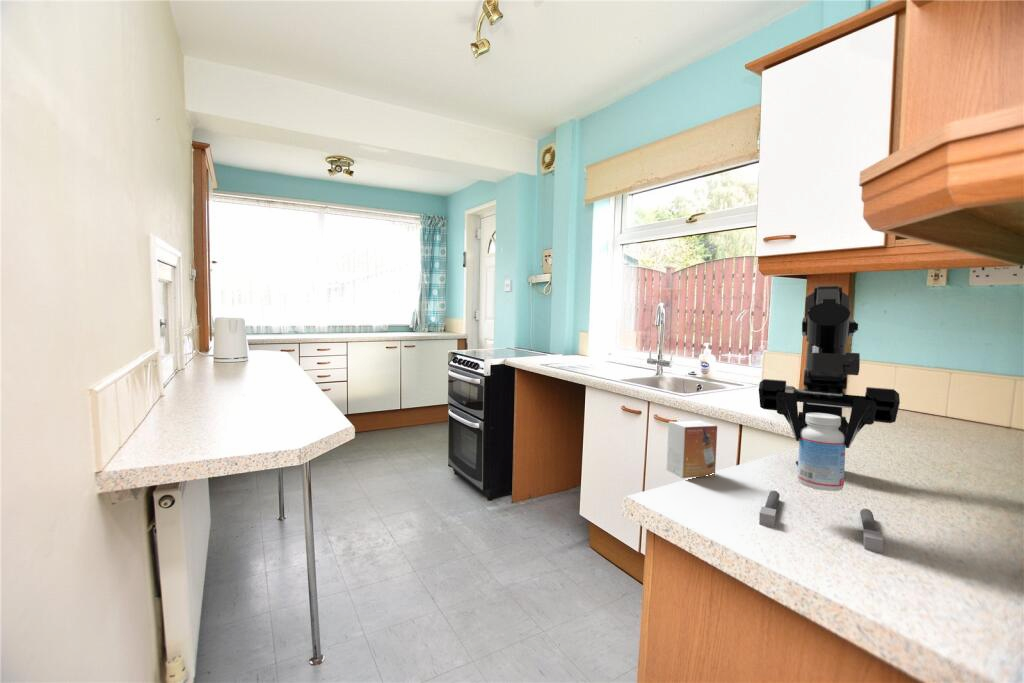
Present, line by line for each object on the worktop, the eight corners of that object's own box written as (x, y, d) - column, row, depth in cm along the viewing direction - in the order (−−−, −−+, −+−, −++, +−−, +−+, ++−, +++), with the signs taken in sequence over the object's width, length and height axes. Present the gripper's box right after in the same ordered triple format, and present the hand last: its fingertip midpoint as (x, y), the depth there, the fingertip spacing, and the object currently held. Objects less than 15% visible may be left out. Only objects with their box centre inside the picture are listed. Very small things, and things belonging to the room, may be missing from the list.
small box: (682, 479, 90) (684, 427, 90) (665, 470, 96) (667, 420, 95) (716, 476, 92) (718, 425, 92) (698, 467, 98) (699, 419, 97)
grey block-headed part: (858, 517, 74) (858, 506, 74) (874, 520, 73) (874, 509, 73) (864, 549, 63) (864, 536, 63) (882, 553, 62) (883, 540, 62)
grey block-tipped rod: (767, 498, 81) (768, 488, 81) (780, 500, 80) (781, 490, 80) (759, 524, 71) (759, 512, 71) (774, 527, 69) (774, 515, 69)
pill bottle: (851, 494, 69) (855, 420, 68) (806, 490, 70) (810, 418, 69) (831, 480, 75) (835, 412, 74) (790, 477, 76) (794, 410, 75)
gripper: (762, 333, 79) (751, 405, 71) (901, 336, 69) (908, 422, 60) (765, 373, 86) (755, 443, 78) (892, 382, 76) (897, 464, 67)
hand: (821, 442), depth 71 cm, fingers closed on pill bottle, 6 cm apart
